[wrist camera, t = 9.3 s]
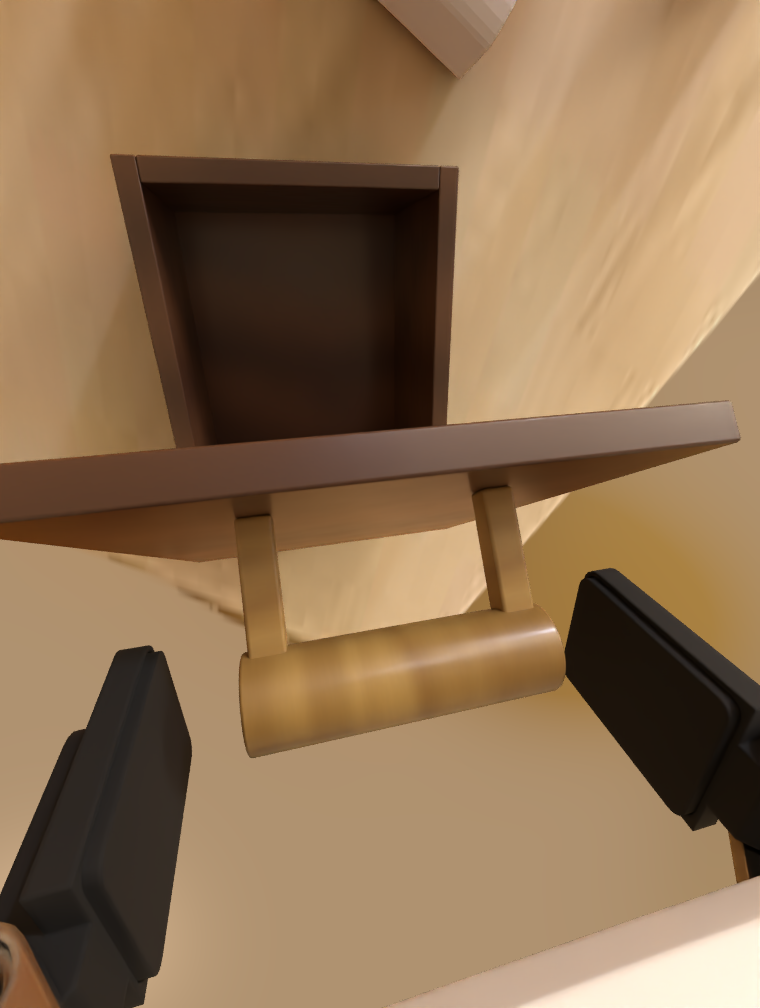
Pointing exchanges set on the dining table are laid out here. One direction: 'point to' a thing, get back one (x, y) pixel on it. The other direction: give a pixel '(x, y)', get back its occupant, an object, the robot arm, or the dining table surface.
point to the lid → (353, 517)
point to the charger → (453, 27)
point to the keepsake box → (293, 292)
